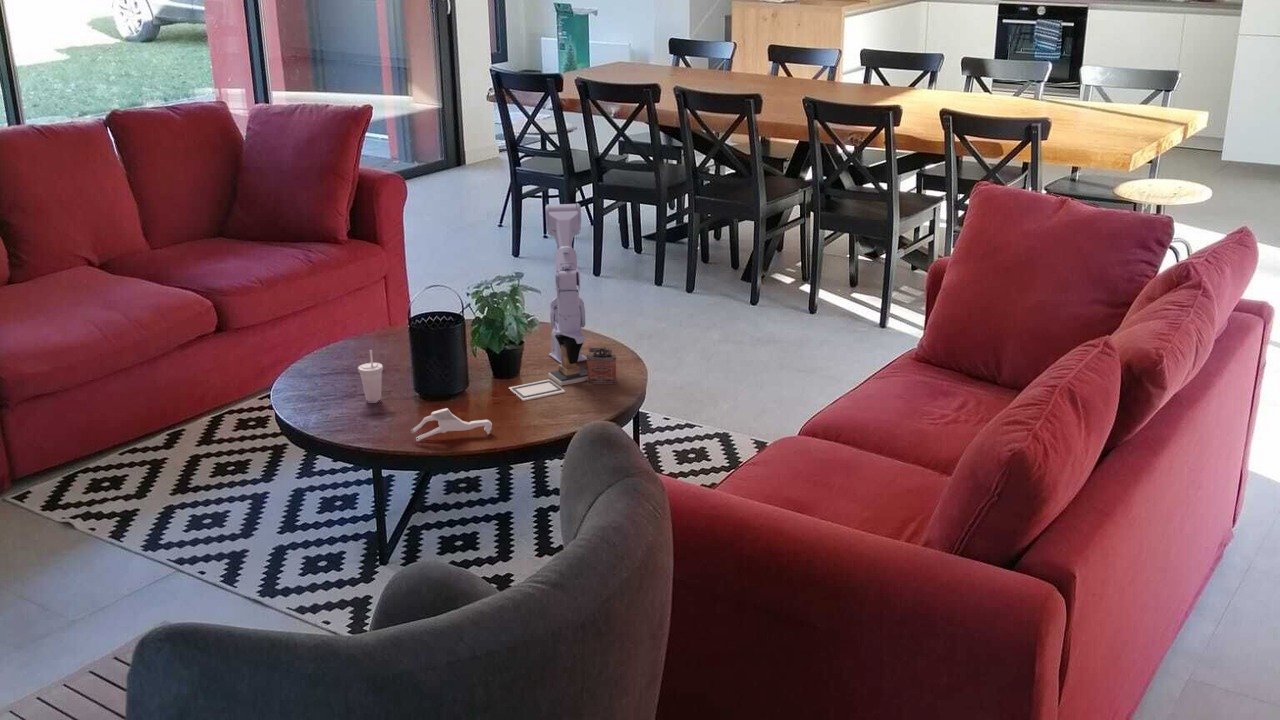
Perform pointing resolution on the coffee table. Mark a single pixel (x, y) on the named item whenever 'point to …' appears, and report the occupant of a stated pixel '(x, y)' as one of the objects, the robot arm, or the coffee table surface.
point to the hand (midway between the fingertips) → (570, 361)
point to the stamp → (567, 364)
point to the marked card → (536, 390)
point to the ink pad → (565, 380)
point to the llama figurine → (450, 423)
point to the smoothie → (371, 379)
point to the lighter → (601, 366)
